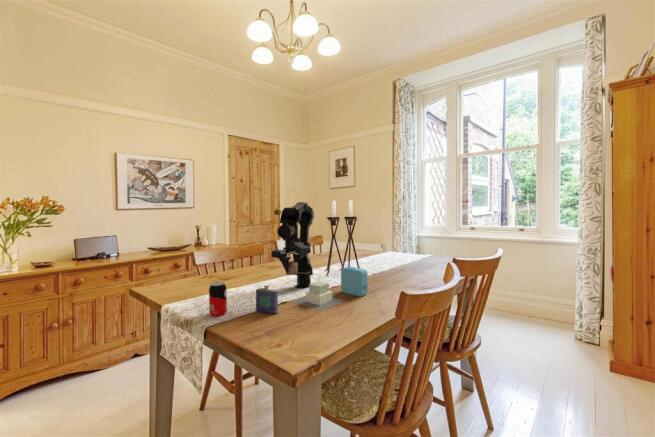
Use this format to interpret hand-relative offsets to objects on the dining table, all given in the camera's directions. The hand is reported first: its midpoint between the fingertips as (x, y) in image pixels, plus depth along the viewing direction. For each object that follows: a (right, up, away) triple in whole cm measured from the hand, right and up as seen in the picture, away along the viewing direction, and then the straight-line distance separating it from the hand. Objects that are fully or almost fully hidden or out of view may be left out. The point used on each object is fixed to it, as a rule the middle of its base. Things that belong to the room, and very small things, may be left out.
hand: (291, 271), depth 135 cm
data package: (+28, -12, +8) cm, 32 cm away
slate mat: (+12, -13, -4) cm, 18 cm away
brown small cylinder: (0, -1, 0) cm, 1 cm away
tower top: (+12, -8, -4) cm, 15 cm away
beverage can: (-26, -14, -17) cm, 34 cm away
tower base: (+12, -12, -4) cm, 18 cm away
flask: (-8, -14, -16) cm, 22 cm away
